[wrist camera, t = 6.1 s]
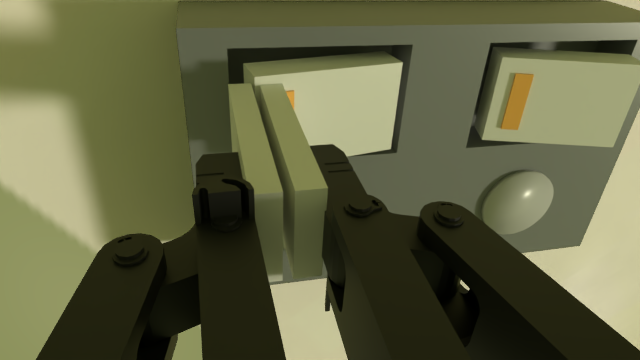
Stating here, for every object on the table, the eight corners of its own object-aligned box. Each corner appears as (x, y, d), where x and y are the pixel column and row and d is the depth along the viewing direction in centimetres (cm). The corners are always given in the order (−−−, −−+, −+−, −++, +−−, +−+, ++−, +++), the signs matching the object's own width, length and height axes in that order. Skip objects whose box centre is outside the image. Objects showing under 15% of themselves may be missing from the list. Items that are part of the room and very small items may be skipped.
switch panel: (536, 204, 29) (583, 249, 26) (204, 238, 25) (206, 297, 22) (607, 0, 23) (682, 23, 19) (178, 1, 19) (175, 30, 15)
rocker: (597, 132, 22) (614, 148, 20) (474, 125, 22) (482, 140, 20) (628, 54, 20) (648, 66, 18) (493, 46, 20) (503, 58, 18)
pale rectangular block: (374, 134, 20) (391, 150, 19) (246, 154, 18) (258, 173, 17) (384, 51, 18) (404, 63, 17) (243, 63, 16) (255, 78, 15)
